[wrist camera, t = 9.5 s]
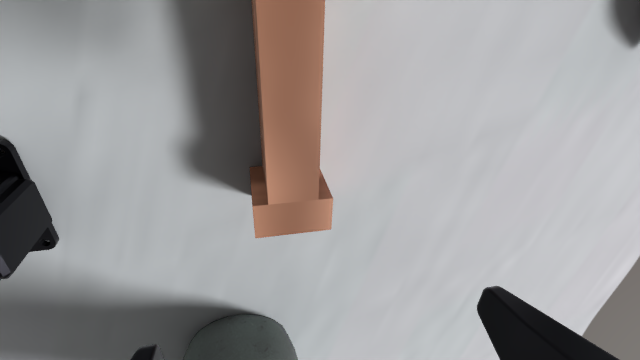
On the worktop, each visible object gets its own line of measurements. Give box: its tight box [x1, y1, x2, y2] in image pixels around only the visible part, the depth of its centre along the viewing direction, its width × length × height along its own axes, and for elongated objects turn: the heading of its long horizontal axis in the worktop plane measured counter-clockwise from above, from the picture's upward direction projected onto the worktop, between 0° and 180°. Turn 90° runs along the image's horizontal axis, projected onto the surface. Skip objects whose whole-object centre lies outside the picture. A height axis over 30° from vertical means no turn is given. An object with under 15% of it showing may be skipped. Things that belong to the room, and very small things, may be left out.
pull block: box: [250, 0, 333, 238], centre depth 14 cm, size 5×20×4 cm, turn 179°
